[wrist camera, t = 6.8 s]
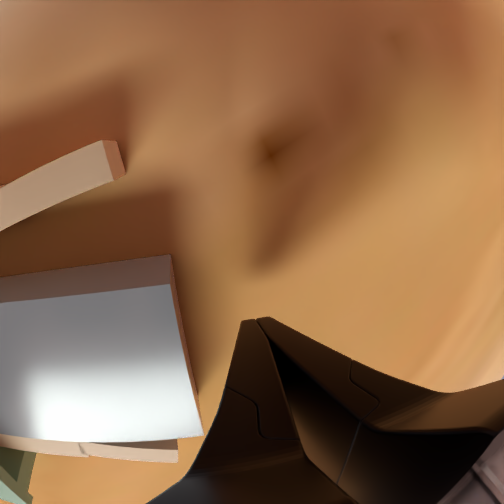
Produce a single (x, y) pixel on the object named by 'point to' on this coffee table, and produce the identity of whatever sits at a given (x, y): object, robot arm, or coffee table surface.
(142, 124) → the coffee table surface
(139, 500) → the coffee table surface
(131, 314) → the slate tile
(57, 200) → the dock
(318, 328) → the coffee table surface
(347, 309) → the coffee table surface
